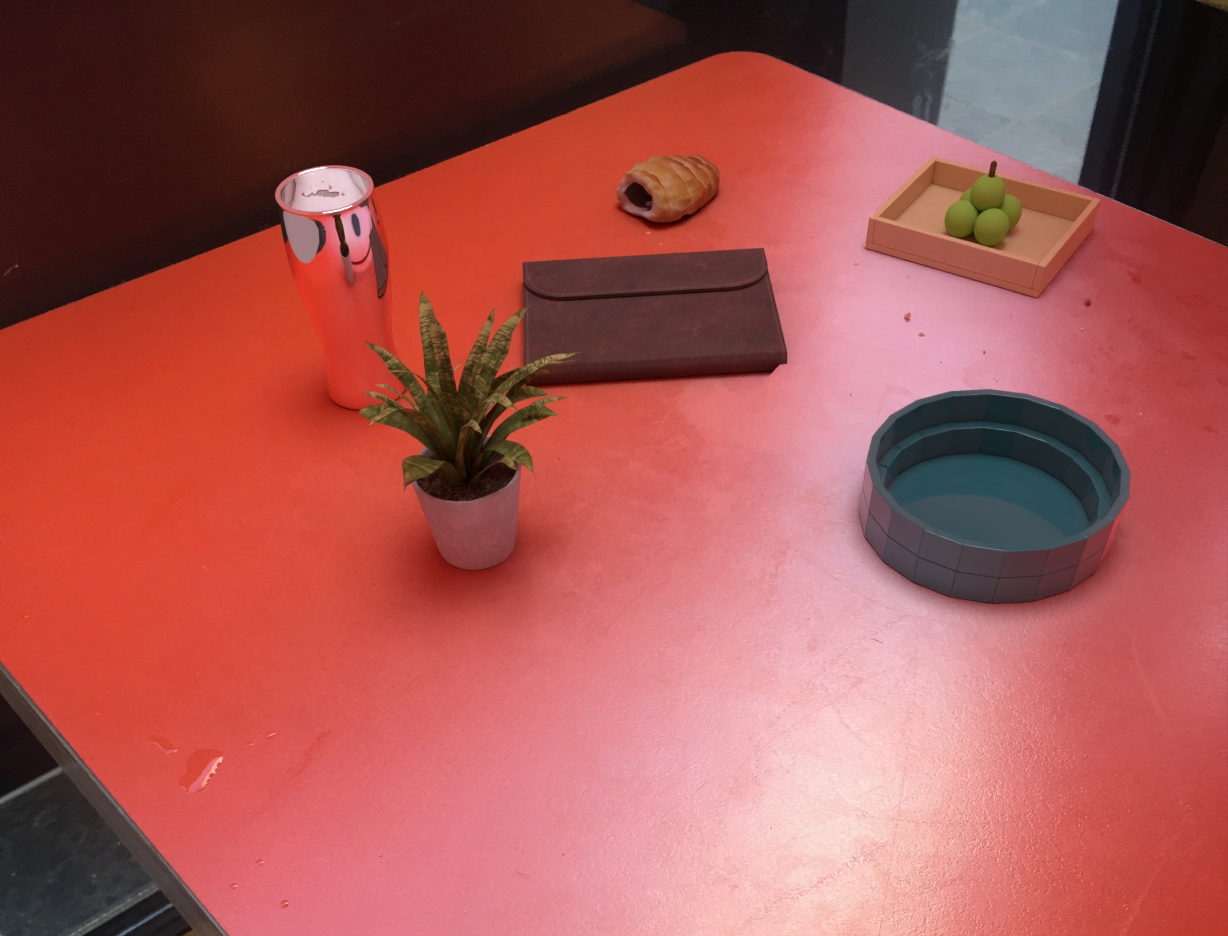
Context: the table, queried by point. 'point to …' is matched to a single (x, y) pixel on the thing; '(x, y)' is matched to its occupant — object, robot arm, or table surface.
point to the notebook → (652, 316)
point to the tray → (1014, 263)
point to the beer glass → (342, 276)
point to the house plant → (466, 438)
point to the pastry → (668, 187)
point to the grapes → (984, 210)
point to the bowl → (992, 495)
